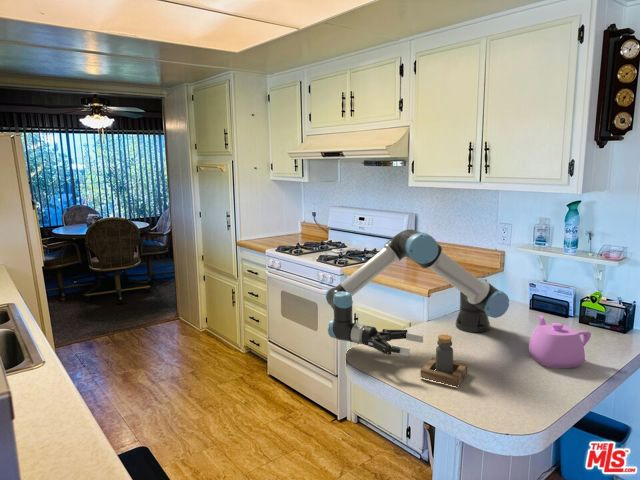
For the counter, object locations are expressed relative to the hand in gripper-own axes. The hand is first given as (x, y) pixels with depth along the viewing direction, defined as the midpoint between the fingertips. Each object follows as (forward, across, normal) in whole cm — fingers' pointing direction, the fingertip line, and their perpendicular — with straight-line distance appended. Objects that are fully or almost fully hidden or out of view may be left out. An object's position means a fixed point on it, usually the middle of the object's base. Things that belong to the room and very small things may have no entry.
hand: (416, 345), depth 164 cm
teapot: (+43, -33, -10) cm, 55 cm away
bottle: (+10, 0, -10) cm, 14 cm away
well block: (+11, 0, -10) cm, 14 cm away
